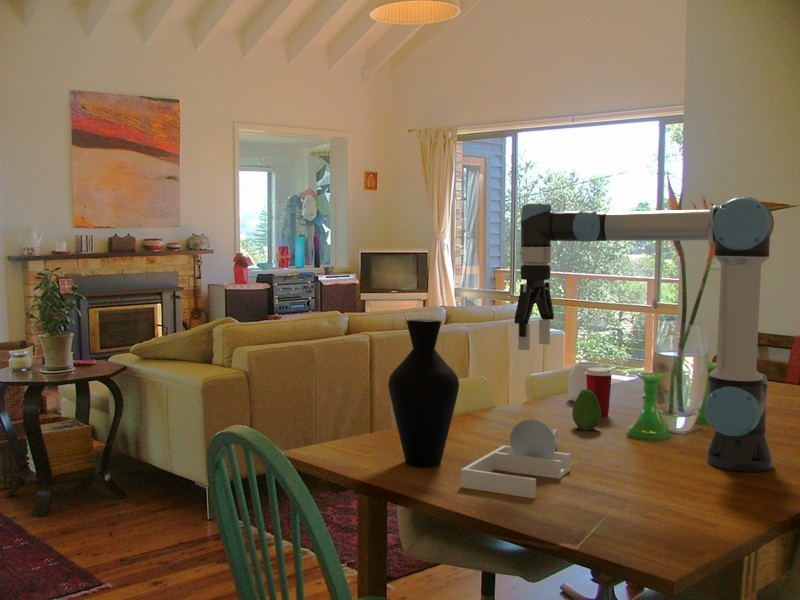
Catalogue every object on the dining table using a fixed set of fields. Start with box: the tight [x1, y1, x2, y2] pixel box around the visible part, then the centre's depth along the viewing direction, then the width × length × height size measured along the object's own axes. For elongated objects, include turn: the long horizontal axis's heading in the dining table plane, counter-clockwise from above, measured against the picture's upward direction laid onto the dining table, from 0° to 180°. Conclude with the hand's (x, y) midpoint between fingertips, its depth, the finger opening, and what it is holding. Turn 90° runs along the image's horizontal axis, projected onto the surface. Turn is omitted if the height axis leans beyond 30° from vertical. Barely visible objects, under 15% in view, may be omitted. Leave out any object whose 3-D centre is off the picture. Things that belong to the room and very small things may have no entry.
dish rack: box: [460, 445, 571, 499], centre depth 194 cm, size 17×25×4 cm
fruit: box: [571, 389, 602, 431], centre depth 243 cm, size 8×8×12 cm
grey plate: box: [509, 418, 557, 459], centre depth 201 cm, size 11×1×11 cm, turn 61°
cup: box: [567, 361, 604, 403], centre depth 283 cm, size 13×13×14 cm
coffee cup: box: [585, 367, 613, 419], centre depth 261 cm, size 8×8×15 cm
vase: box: [387, 318, 460, 469], centre depth 205 cm, size 17×17×35 cm
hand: (534, 347), depth 218 cm, fingers open, 13 cm apart
